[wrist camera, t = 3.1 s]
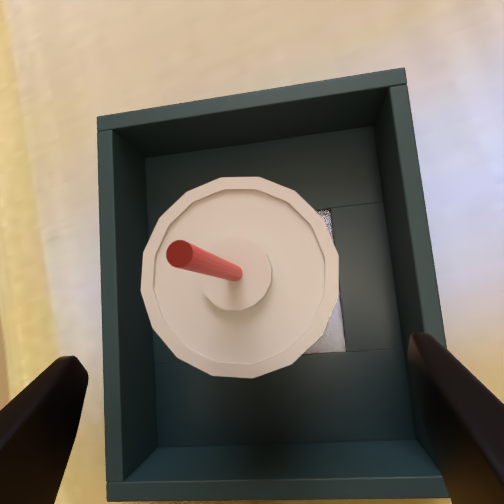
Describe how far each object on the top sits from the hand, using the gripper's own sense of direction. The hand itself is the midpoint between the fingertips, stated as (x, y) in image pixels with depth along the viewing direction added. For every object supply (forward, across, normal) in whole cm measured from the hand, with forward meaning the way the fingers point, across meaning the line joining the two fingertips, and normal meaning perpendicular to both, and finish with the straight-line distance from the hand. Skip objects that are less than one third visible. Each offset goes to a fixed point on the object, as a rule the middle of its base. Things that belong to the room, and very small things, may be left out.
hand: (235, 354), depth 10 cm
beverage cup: (+9, 0, +6) cm, 10 cm away
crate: (+9, 0, +6) cm, 10 cm away
